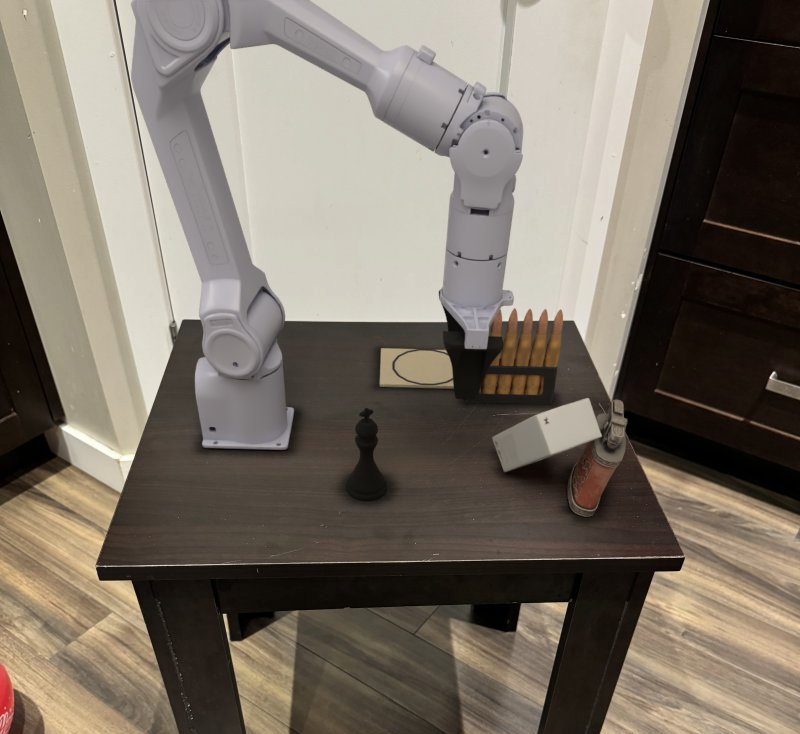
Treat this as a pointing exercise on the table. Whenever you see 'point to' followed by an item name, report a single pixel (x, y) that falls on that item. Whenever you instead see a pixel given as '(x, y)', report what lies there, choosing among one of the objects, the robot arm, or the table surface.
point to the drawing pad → (415, 368)
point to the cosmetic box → (547, 434)
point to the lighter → (598, 461)
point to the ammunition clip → (523, 362)
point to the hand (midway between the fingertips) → (463, 377)
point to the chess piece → (366, 463)
